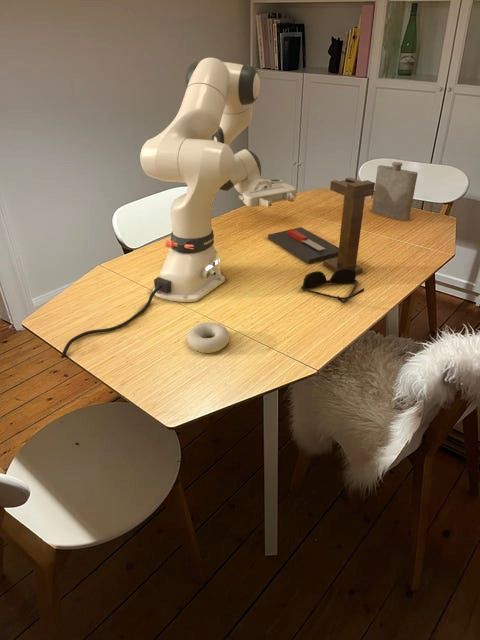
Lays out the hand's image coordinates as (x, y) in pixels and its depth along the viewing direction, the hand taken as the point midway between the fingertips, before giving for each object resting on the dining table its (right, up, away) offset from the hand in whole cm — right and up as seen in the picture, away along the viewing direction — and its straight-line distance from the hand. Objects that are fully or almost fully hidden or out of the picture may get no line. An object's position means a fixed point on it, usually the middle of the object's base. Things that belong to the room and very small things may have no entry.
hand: (281, 201), depth 163 cm
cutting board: (+7, -16, -5) cm, 19 cm away
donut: (-22, -47, -53) cm, 74 cm away
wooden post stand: (+17, -26, -20) cm, 37 cm away
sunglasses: (+12, -35, -34) cm, 50 cm away
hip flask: (+44, -1, +19) cm, 48 cm away
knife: (+8, -15, -7) cm, 18 cm away
